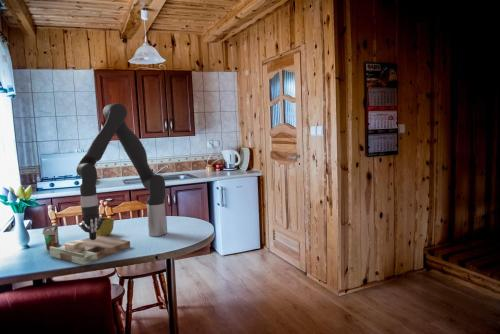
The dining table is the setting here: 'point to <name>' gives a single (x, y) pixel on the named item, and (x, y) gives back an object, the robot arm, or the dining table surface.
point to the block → (75, 246)
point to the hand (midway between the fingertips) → (93, 239)
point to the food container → (51, 236)
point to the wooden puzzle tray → (91, 250)
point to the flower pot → (106, 227)
